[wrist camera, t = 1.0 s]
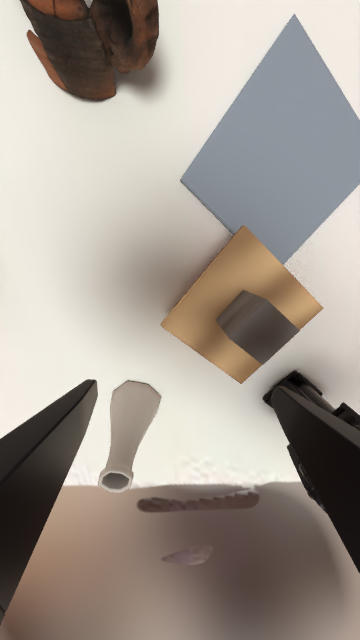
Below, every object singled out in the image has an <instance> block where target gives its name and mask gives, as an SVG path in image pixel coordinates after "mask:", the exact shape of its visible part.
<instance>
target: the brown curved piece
mask: <svg viewBox="0 0 360 640" xmlns="http://www.w3.org/2000/svg"><path fill="white" fill-rule="evenodd" d="M20 1H21V3H22V6H23V9H24V11H25V13H26V15H27V17H28V18H29V20H30V21H31V23H32V26H33V28H34V31H35V33H36V34H37V35H38V37H37V36H36V35H35V34H34V33H33V32H32V31H31V30H28V32H27V37H28V40H29V42H30V44H31V46H32V48H33V50H34V51H35V53H36V55H37V57H38V58H39V60H40V61H41V63H42V64H43V66H44V67H45V69H46V71H47V73H48V75H49V77H50V78H51V79H52V81H53V82H54V83H55V84H57V85H58V86H59V87H60V88H62V89H64V90H66V91H68V92H70V93H72V94H74V95H78V96H80V97H82V98H89V99H98V100H99V99H103V98H109V97H112V96H114V95H115V93H116V91H115V85H114V74H113V67H115V68H116V69H117V70H118V71H119V72H121V73H128V72H130V70H141V69H143V68H144V67H145V65H146V64H147V63H148V62H149V61H150V59H151V57H152V56H153V53H154V50H155V46H156V41H157V39H158V36H159V12H158V2H157V0H93V1H92V4H91V6H90V8H88V7H87V6H86V3H85V1H84V0H20Z"/></svg>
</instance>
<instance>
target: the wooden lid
mask: <svg viewBox="0 0 360 640" xmlns="http://www.w3.org/2000/svg"><path fill="white" fill-rule="evenodd" d="M322 309H323V307H322V306H321V305H320V304H319V303H318V302H317V301H316V299H315V298H314V297H313V296H312V295H311V294H310V293H309V292H308V291H307V290H306V289H305V288H304V287H303V286H302V285H301V284H300V283H299V282H298V281H297V280H296V278H295V277H294V276H293V275H292V274H291V273H290V272H289V271H288V270H287V269H286V268H285V267H284V266H283V265H282V264H281V263H280V262H279V261H278V260H277V259H276V258H275V256H274V255H273V254H272V253H271V252H270V251H269V250H268V249H267V248H266V247H265V246H264V245H263V244H262V243H261V242H260V241H259V240H258V239H257V238H256V237H255V235H254V234H253V233H252V232H251V231H250V230H249V229H248V228H247V227H246V226H245V225H243V226H241V227H240V228H239V230H238V231H237V232H236V233H235V234H234V236H233V237H232V238H231V239H230V241H229V242H228V243H227V244H226V245H225V247H224V248H223V249H222V250H221V251H220V253H219V254H218V255H217V256H216V257H215V259H214V260H213V261H212V262H211V264H210V265H209V266H208V267H207V268H206V270H205V271H204V272H203V273H202V274H201V276H200V277H199V278H198V279H197V281H196V282H195V283H194V284H193V285H192V287H191V288H190V289H189V290H188V291H187V293H186V294H185V295H184V296H183V297H182V299H181V300H180V301H179V302H178V304H177V305H176V306H175V307H174V308H173V310H172V311H171V312H170V313H169V314H168V316H167V317H166V318H165V319H164V320H163V322H162V323H161V326H162V327H163V328H165V329H166V330H167V331H169V332H170V333H171V334H173V335H174V336H176V337H177V338H178V339H180V340H181V341H182V342H184V343H185V344H187V345H188V346H189V347H191V348H192V349H194V350H195V351H196V352H198V353H199V354H200V355H202V356H203V357H205V358H206V359H207V360H209V361H210V362H211V363H213V364H214V365H216V366H217V367H218V368H220V369H221V370H223V371H224V372H225V373H227V374H228V375H229V376H231V377H232V378H234V379H235V380H236V381H238V382H239V383H240V384H242V383H243V382H244V381H245V380H246V379H247V378H248V377H249V376H251V375H252V374H253V373H254V372H255V371H256V370H257V369H258V368H259V367H260V366H261V365H263V364H264V363H265V362H267V361H268V360H269V359H270V358H271V357H272V356H273V355H274V354H275V353H276V352H277V351H278V350H280V349H281V348H282V347H283V346H284V345H285V344H286V343H287V342H288V341H289V340H290V339H291V338H293V337H294V336H295V335H296V334H297V333H298V332H299V331H300V329H301V328H302V327H304V326H305V325H306V324H307V323H308V322H309V321H310V320H311V319H312V318H313V317H314V316H315V315H317V314H318V313H319V312H320V311H321V310H322Z"/></svg>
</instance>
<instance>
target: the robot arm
mask: <svg viewBox="0 0 360 640" xmlns="http://www.w3.org/2000/svg"><path fill="white" fill-rule="evenodd" d="M97 396H98V391H97V381H96V380H91V379H88V380H85V381H84V382H82V383H81V384H79V385H78V386H77V387H75V388H74V389H72V390H71V391H69V392H68V393H66V394H65V395H63V396H62V397H61V398H59V399H58V400H56V401H55V402H53V403H52V404H50V405H49V406H47V407H46V408H45V409H43V410H42V411H40V412H39V413H37V414H36V415H34V416H33V417H31V418H30V419H29V420H27V421H26V422H24V423H23V424H21V425H20V426H18V427H17V428H15V429H14V430H13V431H11V432H10V433H8V434H7V435H5V436H4V437H2V438H1V439H0V625H1V623H2V620H3V618H4V616H5V612H6V610H7V609H8V606H9V604H10V602H11V600H12V597H13V595H14V593H15V590H16V588H17V586H18V584H19V582H20V580H21V577H22V575H23V573H24V570H25V568H26V566H27V564H28V562H29V559H30V557H31V555H32V553H33V550H34V548H35V546H36V543H37V541H38V539H39V537H40V535H41V532H42V530H43V527H44V526H45V523H46V521H47V519H48V517H49V514H50V512H51V510H52V508H53V505H54V503H55V501H56V499H57V496H58V494H59V492H60V490H61V487H62V485H63V483H64V481H65V478H66V476H67V474H68V472H69V469H70V467H71V465H72V463H73V460H74V458H75V456H76V454H77V451H78V449H79V447H80V445H81V442H82V440H83V438H84V436H85V433H86V430H87V427H88V424H89V421H90V418H91V415H92V412H93V409H94V406H95V403H96V400H97ZM321 396H322V392H321V391H320V390H319V389H317V388H316V387H315V386H314V385H313V384H311V383H310V382H309V381H308V380H307V379H305V378H304V377H303V376H302V375H301V374H300V373H298V372H297V371H294V372H292V373H291V374H290V375H289V376H288V377H287V378H285V379H284V380H283V381H282V382H281V383H280V384H279V385H277V386H276V387H275V388H274V389H273V390H272V391H270V392H269V393H268V394H267V395H266V396H265V397H264V398H263V400H264V402H265V403H266V404H268V405H269V406H271V407H272V408H273V409H274V410H275V412H276V415H277V417H278V419H279V422H280V424H281V426H282V429H283V431H284V433H285V435H286V437H287V439H288V441H289V443H290V444H289V445H288V446H287V449H288V451H289V453H290V456H291V459H292V461H293V463H294V465H295V468H296V470H297V472H298V474H299V477H300V479H301V481H302V483H303V485H304V487H305V489H306V490H307V493H308V495H309V496H310V498H312V499H313V500H315V501H316V502H317V504H318V505H319V506H320V507H321V508H322V509H323V510H324V511H325V512H326V513H327V514H328V516H329V517H330V519H331V521H332V523H333V525H334V527H335V529H336V530H337V532H338V534H339V536H340V538H341V540H342V542H343V543H344V545H345V547H346V549H347V551H348V553H349V555H350V556H351V558H352V560H353V562H354V564H355V566H356V568H357V569H358V572H359V573H360V415H359V414H357V413H356V412H355V411H354V410H353V409H351V408H350V407H349V406H348V405H346V404H345V403H344V402H343V403H342V404H341V405H340V407H338V408H337V409H334V408H333V407H332V406H331V405H330V404H329V403H328V402H327V401H326V400H325V399H324V398H322V397H321Z"/></svg>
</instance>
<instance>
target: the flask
mask: <svg viewBox="0 0 360 640" xmlns="http://www.w3.org/2000/svg"><path fill="white" fill-rule="evenodd" d="M160 400H161V396H160V395H159V394H157V393H156V392H155V391H154V390H153V389H152V388H151V387H150V386H149V385H147V384H142V383H136V382H131V381H127V382H126V383H124V384H123V385H121V386H120V387H119V388H117V389H116V390H115V391H113V394H112V399H111V405H110V419H111V447H110V453H109V458H108V461H107V464H106V467H105V469H104V470H102V471H101V473H100V476H99V481H98V486H99V487H101V488H103V489H104V490H106V491H108V492H117V493H122V492H123V491H125V490H127V489H128V488H130V487H131V484H132V480H133V472H132V465H133V460H134V457H135V454H136V452H137V449H138V446H139V444H140V442H141V440H142V438H143V437H144V435H145V433H146V431H147V429H148V427H149V425H150V424H151V422H152V420H153V418H154V417H155V415H156V413H157V410H158V407H159V403H160Z"/></svg>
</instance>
